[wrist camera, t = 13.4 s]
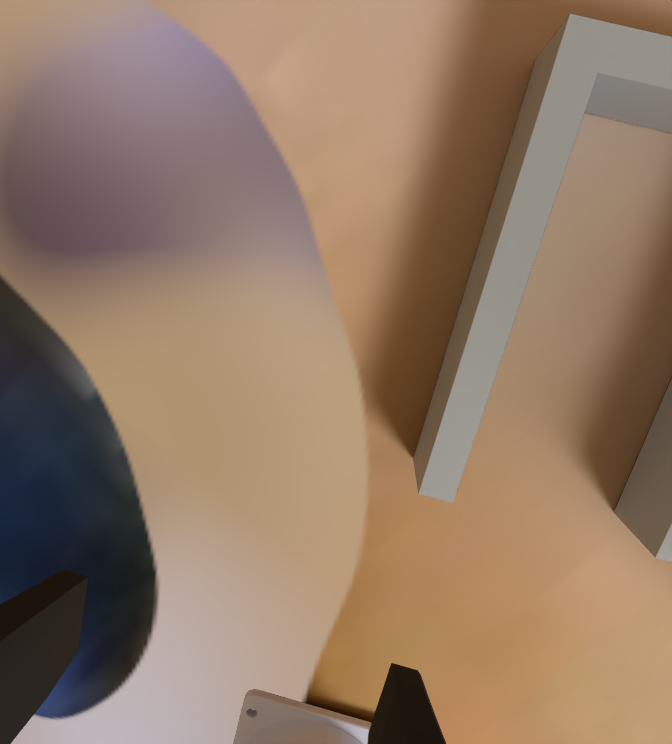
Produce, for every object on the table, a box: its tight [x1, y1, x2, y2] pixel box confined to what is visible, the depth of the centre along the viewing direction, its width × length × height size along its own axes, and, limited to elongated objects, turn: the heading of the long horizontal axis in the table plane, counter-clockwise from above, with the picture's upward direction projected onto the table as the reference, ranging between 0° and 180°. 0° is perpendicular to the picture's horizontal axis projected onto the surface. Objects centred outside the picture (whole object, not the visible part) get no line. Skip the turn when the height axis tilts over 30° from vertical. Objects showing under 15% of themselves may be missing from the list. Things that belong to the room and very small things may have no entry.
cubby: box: [413, 14, 672, 562], centre depth 16 cm, size 15×9×3 cm, turn 167°
